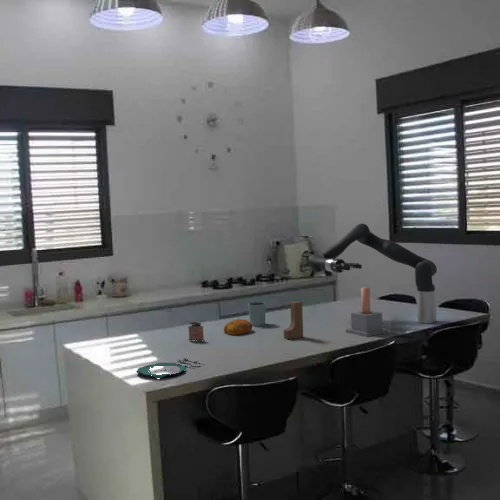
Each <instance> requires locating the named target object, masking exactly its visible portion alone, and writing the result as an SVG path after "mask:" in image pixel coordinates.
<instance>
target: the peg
mask: <svg viewBox="0 0 500 500" xmlns="http://www.w3.org/2000/svg"><path fill="white" fill-rule="evenodd" d="M360 294H361V295H360V297H361V300H360V301H361V303H360V304H361V311H362V314H370V311H371V289H370V287H365V286H363V287H360Z"/></svg>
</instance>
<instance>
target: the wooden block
mask: <svg viewBox="0 0 500 500" xmlns="http://www.w3.org/2000/svg"><path fill="white" fill-rule="evenodd" d="M289 303H290V325H289V326H288V327H286V328H285V329H283V338H284V339H285V340H288V339H289V340H293V338H295V339H299V338H300V337H301V338H303V337H304V322H303V321H304V319H303V302H302V301H299V300H297V301H296V300H295V301H290V302H289Z"/></svg>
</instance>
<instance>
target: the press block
mask: <svg viewBox="0 0 500 500" xmlns="http://www.w3.org/2000/svg"><path fill="white" fill-rule="evenodd" d="M350 317H351V318H350V322H351V327H350V328H346V329H345V331H346V333H349V334H353V335H357V336H360V337H361V336H362V337H365V338H369V337H372V336H376V335H382V334H386V333H388V332H389V329H388V328H385V327H384V328H383V312H380V311H376V310H375V311H374V310H370V314H362V310H360V311H354V312H351V313H350Z"/></svg>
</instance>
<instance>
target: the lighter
mask: <svg viewBox="0 0 500 500" xmlns="http://www.w3.org/2000/svg"><path fill="white" fill-rule="evenodd" d="M187 329H188V341H189V340H195V341H194V342H203V341H202V340H204V341H205V339H204V325H202V322H201V321H198V320H195V321H194V320H193V321H189V325H188V328H187ZM196 340H197V341H196Z"/></svg>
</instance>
